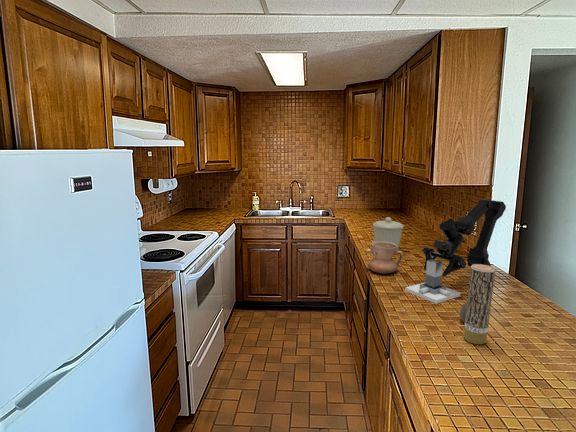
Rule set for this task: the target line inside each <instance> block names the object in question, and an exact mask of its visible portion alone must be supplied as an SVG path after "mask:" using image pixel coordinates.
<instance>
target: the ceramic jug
mask: <svg viewBox="0 0 576 432" xmlns="http://www.w3.org/2000/svg"><path fill="white" fill-rule="evenodd" d="M396 248H397V245H396V244H394V243H390V242H374V241H373V242H372V243H371V248H367V249H366V252H367V253H371V254H372V255H373V256H374V258H372V259H371V260H369V261H368V262H367V263H366V265H367V267H368V268H369V270H371V271H372V272H374V273H378V274H383V275H384V274H387V275H388V274H392V273H395V272H396V271H398V269H399V266H400V264H401V262H402V260H403V258H404V253H403V252H402V251H401V250H398V251H396ZM397 254H399V259H398V260H397V262H396V261H395V260H393V257H394V256H395V255H397Z"/></svg>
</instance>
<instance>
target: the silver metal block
mask: <svg viewBox="0 0 576 432" xmlns="http://www.w3.org/2000/svg"><path fill="white" fill-rule="evenodd" d="M443 266H444V261H441V260H438V259H436V258H435V259H432V260H428V261H427V267H426V270H425V281H424V282H425V286H426V287H429V288H432V289H434V290H435V289H438V288H441V285H442V279H443V276H442V274H443Z"/></svg>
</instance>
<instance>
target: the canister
mask: <svg viewBox="0 0 576 432" xmlns="http://www.w3.org/2000/svg"><path fill="white" fill-rule="evenodd" d="M372 226H373V242H390V243H394V244H396V245H397V248H396V251H399V247H400V243H401V238H402V234H403V229H404V227H405V226H404V224H403V223H400V222H399V221H393V220H392V218H391V217H389V216H387V217H385V220H378V221H375V222H373V223H372Z"/></svg>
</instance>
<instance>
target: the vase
mask: <svg viewBox="0 0 576 432" xmlns="http://www.w3.org/2000/svg"><path fill="white" fill-rule="evenodd" d="M466 309H467V301H465V302H464V303H463V304H462V305H461V307H460V309H459V318H460V320H461V321H462V323H464V324H465V319H466Z"/></svg>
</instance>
